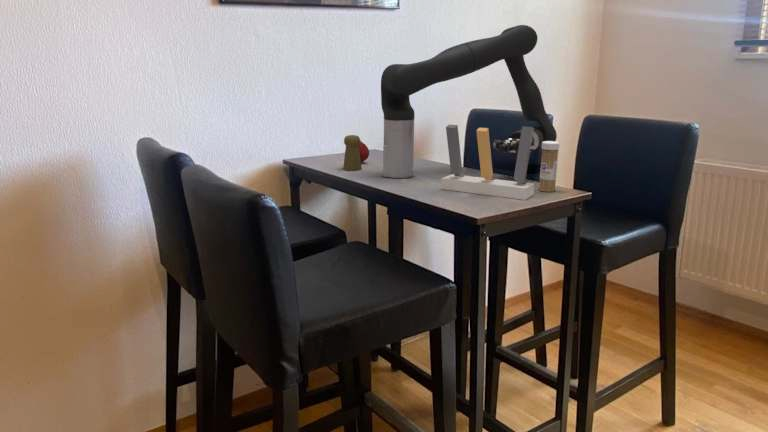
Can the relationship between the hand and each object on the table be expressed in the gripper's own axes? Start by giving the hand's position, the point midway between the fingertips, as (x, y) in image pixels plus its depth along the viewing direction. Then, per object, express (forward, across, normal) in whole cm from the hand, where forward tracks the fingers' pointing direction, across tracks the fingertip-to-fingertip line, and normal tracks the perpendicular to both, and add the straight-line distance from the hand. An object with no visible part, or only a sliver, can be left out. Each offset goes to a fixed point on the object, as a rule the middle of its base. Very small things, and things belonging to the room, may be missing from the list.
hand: (502, 149), depth 169 cm
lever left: (+11, -9, +6) cm, 15 cm away
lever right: (+11, +9, +6) cm, 15 cm away
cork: (+3, -50, +11) cm, 51 cm away
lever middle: (+11, 0, +6) cm, 12 cm away
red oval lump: (-7, -53, +10) cm, 55 cm away
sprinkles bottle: (0, +14, +10) cm, 17 cm away
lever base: (+11, 0, +10) cm, 15 cm away
